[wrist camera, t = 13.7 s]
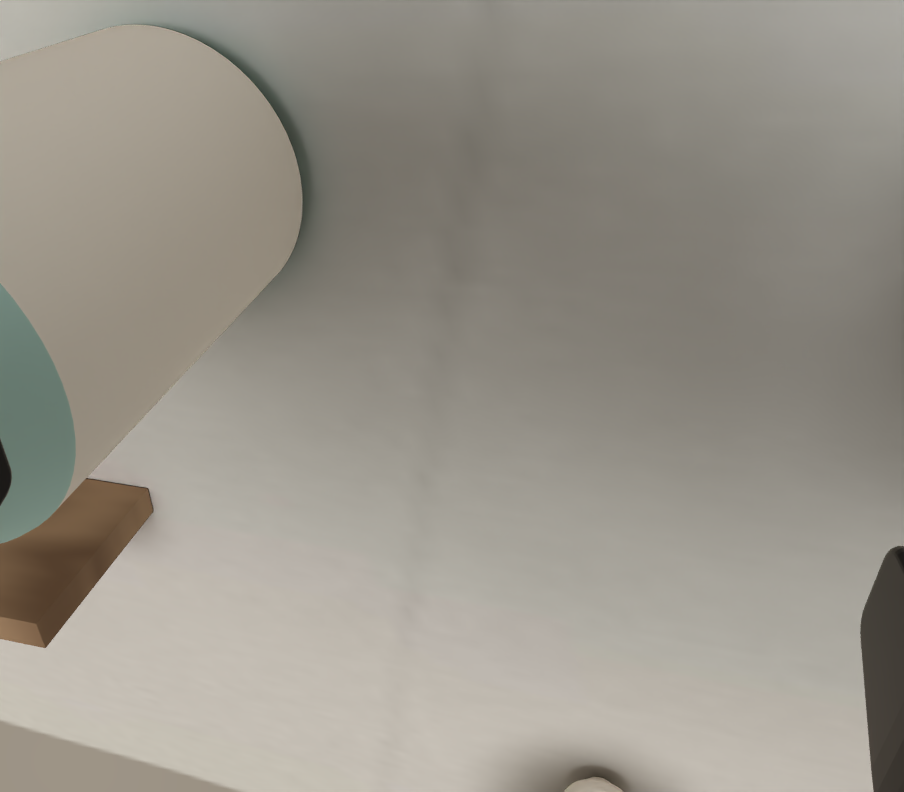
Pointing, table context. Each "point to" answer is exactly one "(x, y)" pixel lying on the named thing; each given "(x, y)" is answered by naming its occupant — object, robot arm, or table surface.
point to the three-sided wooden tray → (65, 558)
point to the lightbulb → (592, 786)
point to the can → (123, 239)
